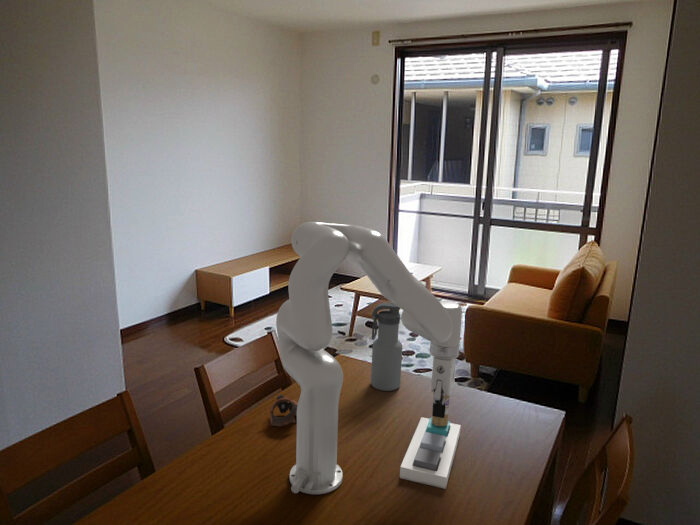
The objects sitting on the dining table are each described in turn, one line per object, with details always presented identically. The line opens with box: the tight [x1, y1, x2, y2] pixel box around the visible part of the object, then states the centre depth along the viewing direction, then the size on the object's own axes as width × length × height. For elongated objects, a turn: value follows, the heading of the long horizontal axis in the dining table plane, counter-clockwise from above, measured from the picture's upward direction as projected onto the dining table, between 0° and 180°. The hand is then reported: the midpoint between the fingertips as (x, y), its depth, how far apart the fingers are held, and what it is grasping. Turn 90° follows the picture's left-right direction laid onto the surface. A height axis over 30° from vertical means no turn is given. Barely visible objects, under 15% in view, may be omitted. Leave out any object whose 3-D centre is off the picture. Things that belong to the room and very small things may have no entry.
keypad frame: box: [399, 416, 462, 490], centre depth 133 cm, size 25×11×3 cm, turn 161°
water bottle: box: [370, 302, 403, 392], centre depth 169 cm, size 10×10×28 cm
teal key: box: [426, 416, 451, 437], centre depth 140 cm, size 5×5×2 cm
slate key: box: [420, 432, 445, 453], centre depth 133 cm, size 5×5×2 cm
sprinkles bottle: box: [431, 390, 451, 426], centre depth 139 cm, size 5×5×14 cm
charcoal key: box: [414, 448, 440, 471], centre depth 126 cm, size 5×5×2 cm
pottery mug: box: [269, 394, 298, 427], centre depth 147 cm, size 12×10×8 cm
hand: (440, 411), depth 139 cm, fingers closed on sprinkles bottle, 4 cm apart
